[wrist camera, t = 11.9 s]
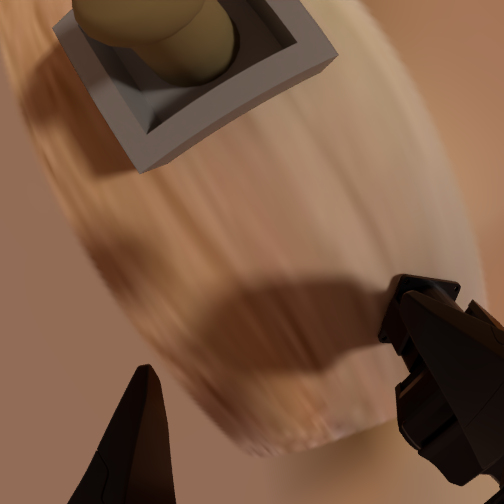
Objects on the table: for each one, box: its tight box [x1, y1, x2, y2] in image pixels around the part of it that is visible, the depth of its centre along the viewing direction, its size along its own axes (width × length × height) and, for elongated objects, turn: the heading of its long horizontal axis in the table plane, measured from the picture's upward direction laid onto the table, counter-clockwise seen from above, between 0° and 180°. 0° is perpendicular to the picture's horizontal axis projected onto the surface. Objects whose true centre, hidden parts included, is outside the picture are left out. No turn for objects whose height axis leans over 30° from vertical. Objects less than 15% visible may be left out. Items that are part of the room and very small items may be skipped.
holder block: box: [52, 0, 338, 174], centre depth 14 cm, size 12×12×5 cm
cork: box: [72, 0, 240, 87], centre depth 11 cm, size 6×6×11 cm
